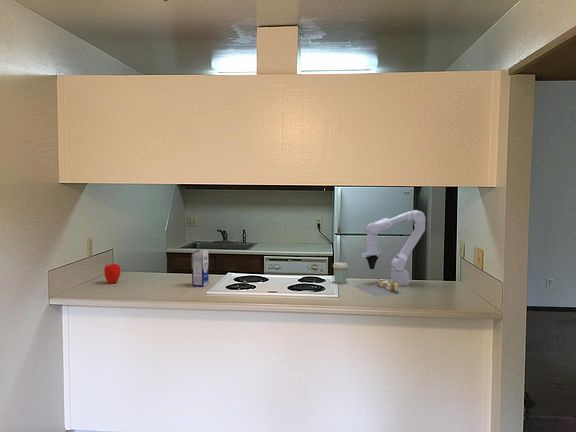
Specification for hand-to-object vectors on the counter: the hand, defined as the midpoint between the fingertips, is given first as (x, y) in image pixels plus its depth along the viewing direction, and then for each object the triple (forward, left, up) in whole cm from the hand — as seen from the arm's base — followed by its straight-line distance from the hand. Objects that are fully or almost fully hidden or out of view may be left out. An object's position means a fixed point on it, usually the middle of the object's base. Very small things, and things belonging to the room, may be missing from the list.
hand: (371, 269), depth 252 cm
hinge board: (+4, +13, -9) cm, 17 cm away
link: (-2, +13, -8) cm, 15 cm away
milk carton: (+90, -33, -10) cm, 96 cm away
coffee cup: (+15, -9, -10) cm, 20 cm away
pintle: (-2, +7, -5) cm, 9 cm away
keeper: (-1, +21, -8) cm, 22 cm away
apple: (+136, -56, -10) cm, 147 cm away
